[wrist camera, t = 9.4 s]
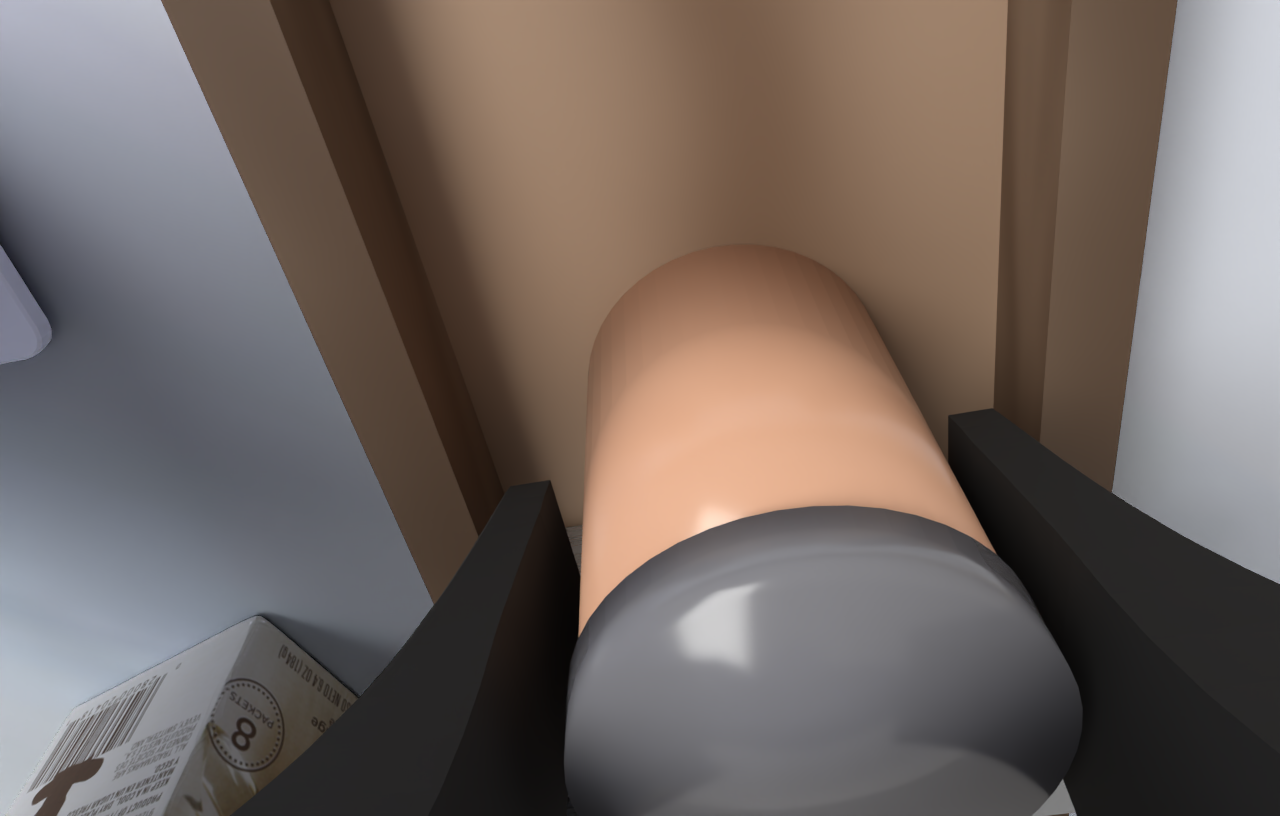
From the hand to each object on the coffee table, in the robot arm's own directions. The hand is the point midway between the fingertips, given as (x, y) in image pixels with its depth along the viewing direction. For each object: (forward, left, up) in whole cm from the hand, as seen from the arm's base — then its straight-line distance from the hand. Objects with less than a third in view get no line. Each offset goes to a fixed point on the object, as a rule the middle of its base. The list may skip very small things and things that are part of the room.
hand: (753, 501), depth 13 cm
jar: (0, 0, -3) cm, 3 cm away
